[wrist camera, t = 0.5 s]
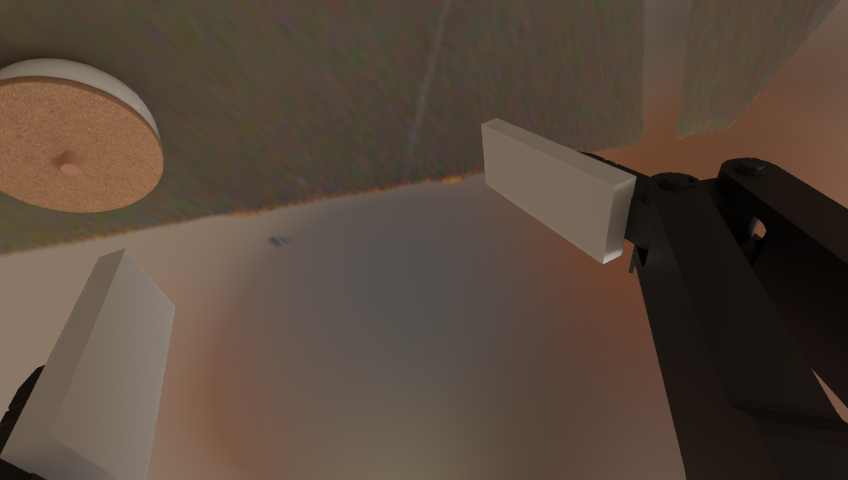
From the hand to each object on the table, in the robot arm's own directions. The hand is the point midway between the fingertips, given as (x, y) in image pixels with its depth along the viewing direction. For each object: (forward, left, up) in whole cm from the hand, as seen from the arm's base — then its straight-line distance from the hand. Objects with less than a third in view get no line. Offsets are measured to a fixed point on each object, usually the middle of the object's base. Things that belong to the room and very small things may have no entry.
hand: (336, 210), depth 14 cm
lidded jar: (+14, -7, -28) cm, 32 cm away
